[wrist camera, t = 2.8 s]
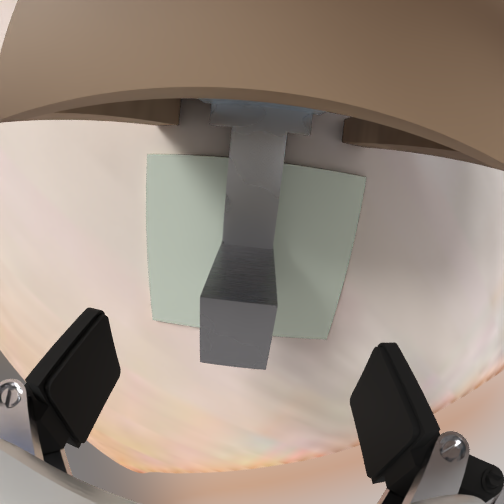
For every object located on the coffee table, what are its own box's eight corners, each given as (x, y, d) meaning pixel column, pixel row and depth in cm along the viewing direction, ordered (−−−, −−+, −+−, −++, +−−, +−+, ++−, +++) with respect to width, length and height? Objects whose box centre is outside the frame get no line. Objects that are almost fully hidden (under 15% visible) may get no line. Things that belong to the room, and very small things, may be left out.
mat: (148, 153, 13) (147, 154, 13) (365, 177, 13) (366, 177, 13) (153, 318, 17) (152, 319, 16) (325, 337, 17) (326, 339, 16)
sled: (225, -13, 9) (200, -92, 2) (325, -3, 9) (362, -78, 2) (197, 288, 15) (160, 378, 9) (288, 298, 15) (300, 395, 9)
